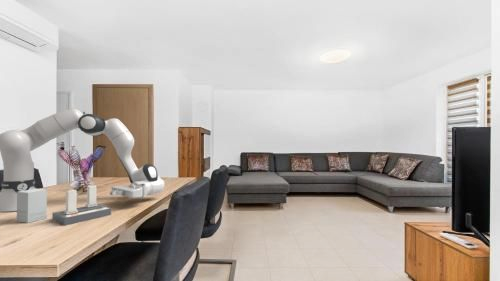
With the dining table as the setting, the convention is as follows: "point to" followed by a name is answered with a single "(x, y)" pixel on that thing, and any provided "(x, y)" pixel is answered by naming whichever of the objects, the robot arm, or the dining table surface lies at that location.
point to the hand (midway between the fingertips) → (111, 193)
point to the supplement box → (31, 205)
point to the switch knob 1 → (71, 202)
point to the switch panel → (81, 214)
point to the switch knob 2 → (91, 196)
